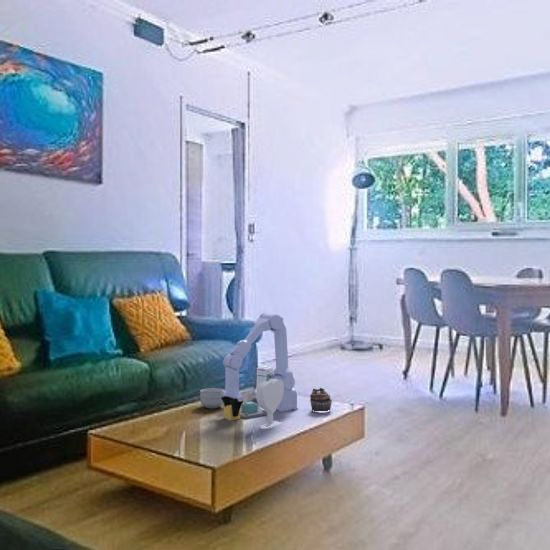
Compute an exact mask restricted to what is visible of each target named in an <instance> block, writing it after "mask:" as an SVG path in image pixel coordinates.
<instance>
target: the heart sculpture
mask: <svg viewBox="0 0 550 550" xmlns="http://www.w3.org/2000/svg"><path fill="white" fill-rule="evenodd" d="M255 390H256V391H255V397H256V401H257V405H258V407H260V409H262V410H265V411H266V412H267V415H266V416H267V417H266V420H267V421H266V423H264V424H261V425H260V426H266V427H268V426H271V425H273V424H275V423H277V422H276V421H277V420H274V413H275V411H277V410H276V409H277V407H278V406H279V404H280V402H281V400H282V397H283V393H284V382H283V381H282V380H276V379H269V380H268V382H267V381H263V382H261V383H260V384H259V385H258V386H257V385H256V389H255Z"/></svg>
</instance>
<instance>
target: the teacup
mask: <svg viewBox="0 0 550 550" xmlns="http://www.w3.org/2000/svg"><path fill="white" fill-rule="evenodd" d="M222 390H224V389H223V388H218V387H217V388H216V387H215V388H214V387H213V388H212V387H211V388H204V389H200V390H199V392H200V404H201V405H202V406H203V407H204V408H205V407H206V409H218V408H220V407H222V405H224V403H223V401H222V399H221V397H224V396H223V395H222Z"/></svg>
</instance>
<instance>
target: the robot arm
mask: <svg viewBox="0 0 550 550" xmlns="http://www.w3.org/2000/svg"><path fill="white" fill-rule="evenodd" d="M255 321H256V322H255V324H254V325H253V326H252V328H251V330H250V331H249V333H248V334H247V336H245V338H244V339H241V340H239V341H237V342H236V345H235V347H234V348H233V349H232V350H231V351H230V353H228V354H226V355H225V356H224V358H223V360H222V364H223V366H224V371H225V373H224V374H225V376H224V377H225V386H224V387H225V389H223V390H222V395H223V396H224V397H221V399H222V401H223V403H224V404H223V406H224V407H226V406H227V405H231V406H232V414H233V417H236V416H238V414H239V410H240V408H242V404H244V396H243V395H242V394H241V393H240V368H241V366H242V365H243V360H244V358H246V356H247V355H248V353H249V352H250V351H251V349H252V346H251V345H252V344H253V343H254V342H255V341H256V339H257V338H258V337H259V336H260V335H261V334H262V333H263V332H267V331H270V332H272V333H273V334H274V335H273V336H274V337H273V338H274V353H275V354H274V355H275V369H273V377H272V379H276V380H282V381H283V382H284V393H283V397H282V400H281V402H280V404H279V406H278V407H277V410H276V411H278V410H279V411H278V412H281V411H282V412H285V411H284V410H288V411H291V410H290V409H294V410H297V409H296V408H298V393H297V390H296V389H295V388H294V386H295V385H296V381H295V380H296V379H295V378H294V372H293V371H292V370H291V368H290V367H289V356H288V355H289V353H288V351H289V350H288V337H287V327H286V324H285V323H284V318H283V317H282V316H281V315H279V314H277V313H275V314H273V313H268V312H262V313H261V314H260V315H259V317H257V319H256V320H255Z"/></svg>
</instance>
